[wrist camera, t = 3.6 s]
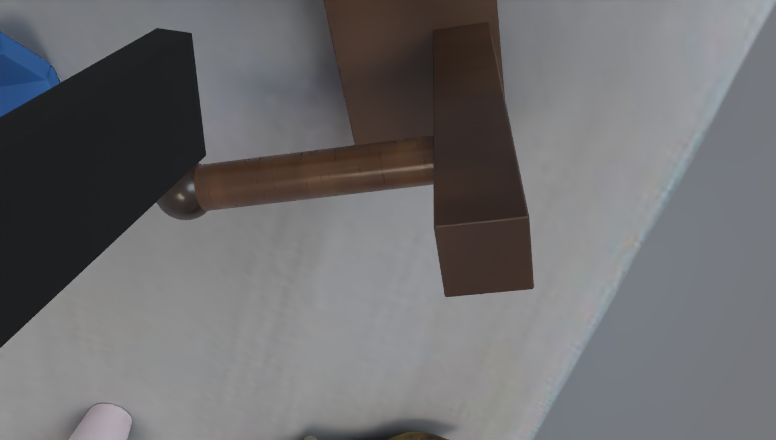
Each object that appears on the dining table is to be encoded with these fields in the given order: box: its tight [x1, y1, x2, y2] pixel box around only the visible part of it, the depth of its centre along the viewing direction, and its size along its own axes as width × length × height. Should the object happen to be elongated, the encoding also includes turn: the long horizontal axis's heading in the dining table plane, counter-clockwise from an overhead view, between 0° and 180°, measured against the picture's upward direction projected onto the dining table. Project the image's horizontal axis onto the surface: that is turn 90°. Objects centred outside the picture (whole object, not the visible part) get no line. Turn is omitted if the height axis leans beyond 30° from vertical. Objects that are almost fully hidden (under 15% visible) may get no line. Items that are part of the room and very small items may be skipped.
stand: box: [157, 0, 534, 297], centre depth 32 cm, size 16×12×20 cm
